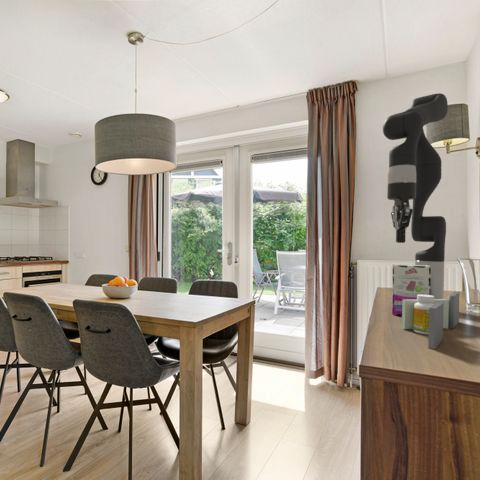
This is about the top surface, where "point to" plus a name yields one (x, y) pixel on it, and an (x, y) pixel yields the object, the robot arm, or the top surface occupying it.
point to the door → (409, 312)
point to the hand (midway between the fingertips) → (400, 242)
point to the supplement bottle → (422, 313)
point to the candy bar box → (409, 284)
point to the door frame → (437, 319)
